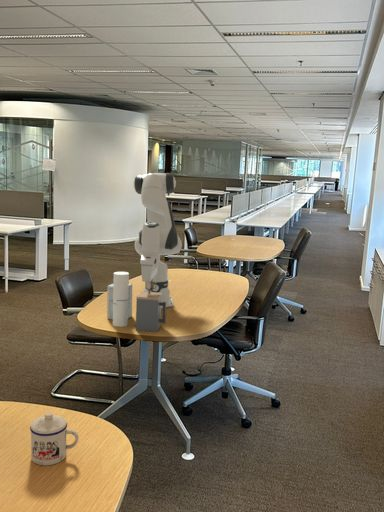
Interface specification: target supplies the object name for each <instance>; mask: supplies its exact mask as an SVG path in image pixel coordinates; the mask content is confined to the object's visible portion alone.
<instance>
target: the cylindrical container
mask: <svg viewBox="0 0 384 512" xmlns="http://www.w3.org/2000/svg"><path fill="white" fill-rule="evenodd" d="M112 284H113V319H112V326H113V327H117V328H120V327H121V328H124V327H127V326H128V324H129V318H128V293H129V284H130V273H129V272H127V271H115V272H113V283H112Z"/></svg>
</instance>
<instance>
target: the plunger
mask: <svg viewBox="0 0 384 512" xmlns="http://www.w3.org/2000/svg"><path fill="white" fill-rule="evenodd" d="M144 287H145V288H144V289H147V288H146V282H145V286H144ZM153 289H154V282H153V281H151V288H150V289H147V290H148V295H151V290H153Z"/></svg>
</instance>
